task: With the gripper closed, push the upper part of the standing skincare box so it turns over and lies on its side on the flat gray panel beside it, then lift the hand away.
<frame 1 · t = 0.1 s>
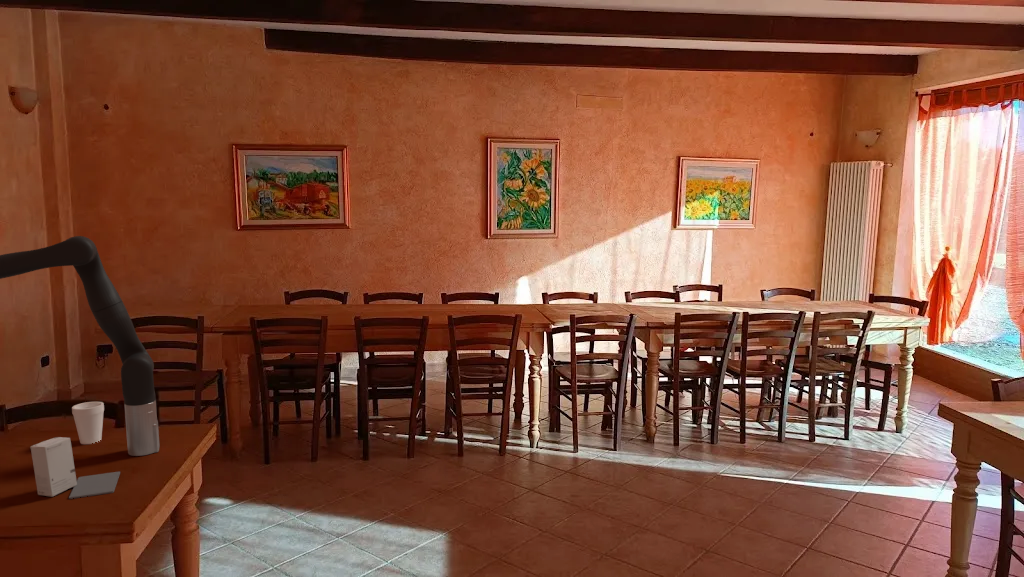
skincare box: (58, 490, 199), on the table, touching flat gray panel
flat gray panel: (95, 485, 202), on the table
foam cup: (90, 441, 240), on the table
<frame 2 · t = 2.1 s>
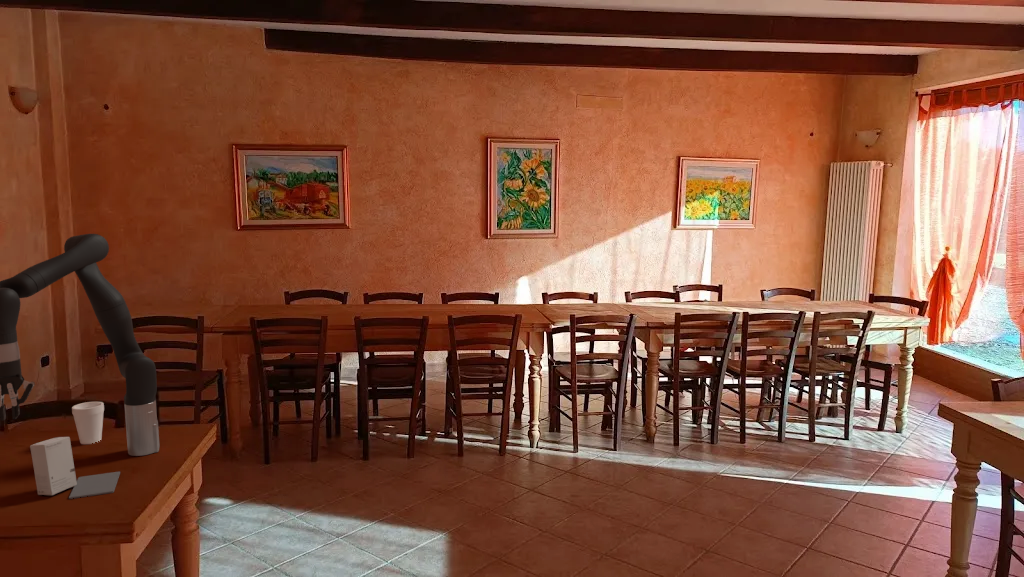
hand: (9, 418, 192), 23 cm above the table, tool pointing down, fingers closed
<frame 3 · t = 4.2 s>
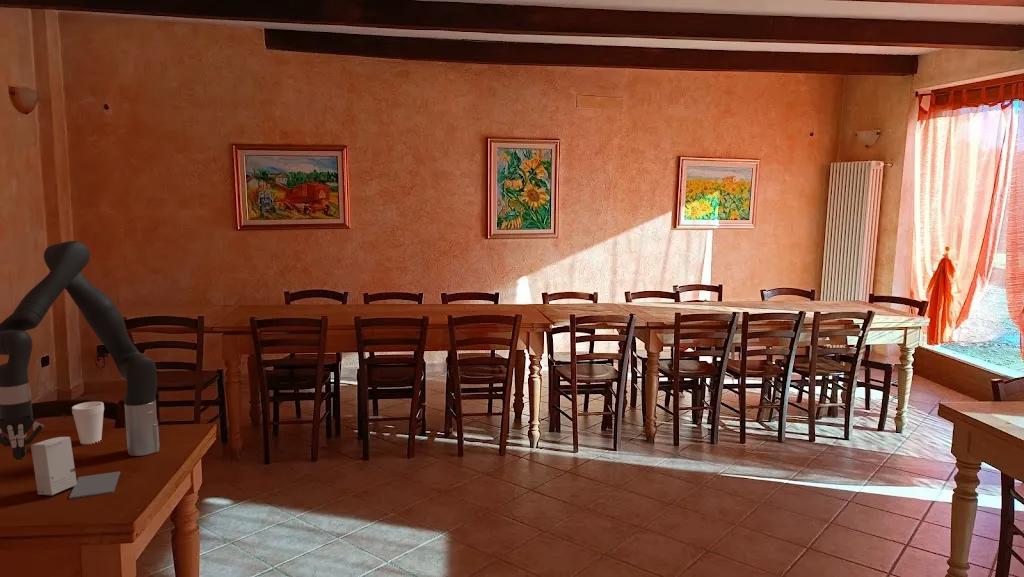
hand: (20, 458, 194), 11 cm above the table, tool pointing down, fingers closed
skincare box: (58, 490, 199), on the table, touching flat gray panel, gripper
everything else where it was.
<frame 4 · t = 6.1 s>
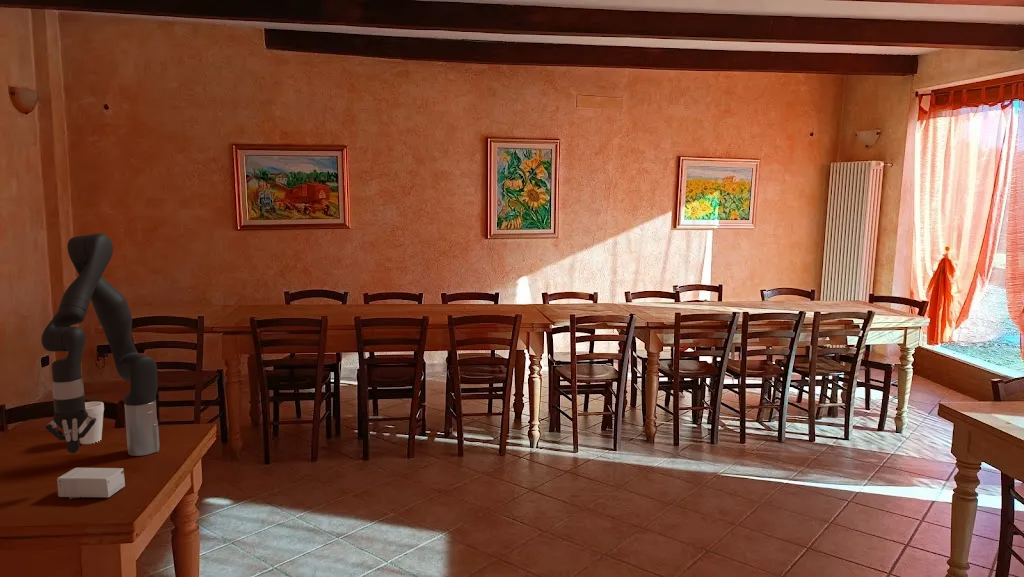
hand: (73, 452, 199), 11 cm above the table, tool pointing down, fingers closed
skincare box: (66, 481, 197), point 3 cm above the table, touching flat gray panel
everything else where it was.
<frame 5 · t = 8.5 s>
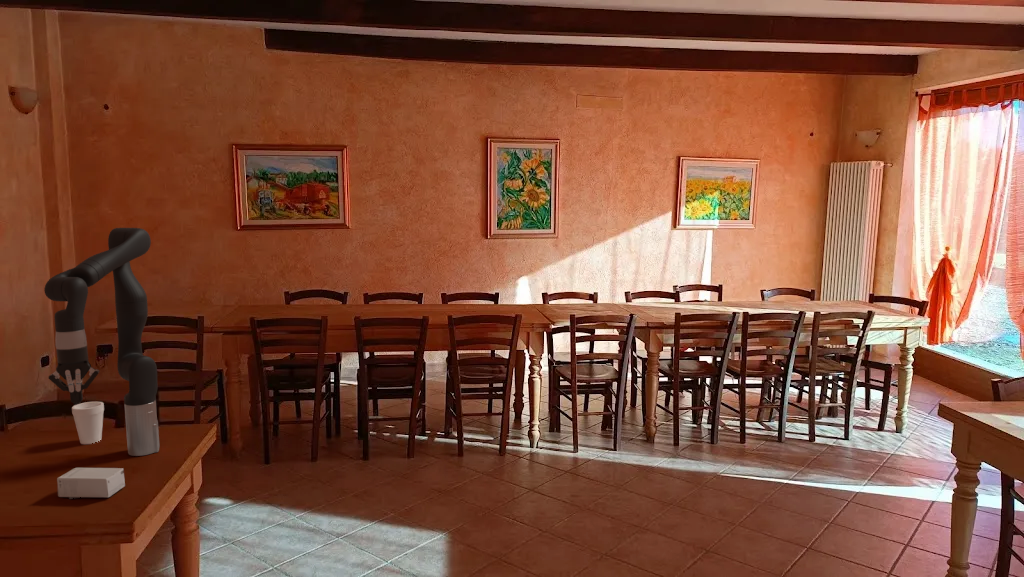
hand: (77, 403, 199), 25 cm above the table, tool pointing down, fingers closed
nothing on the table moved.
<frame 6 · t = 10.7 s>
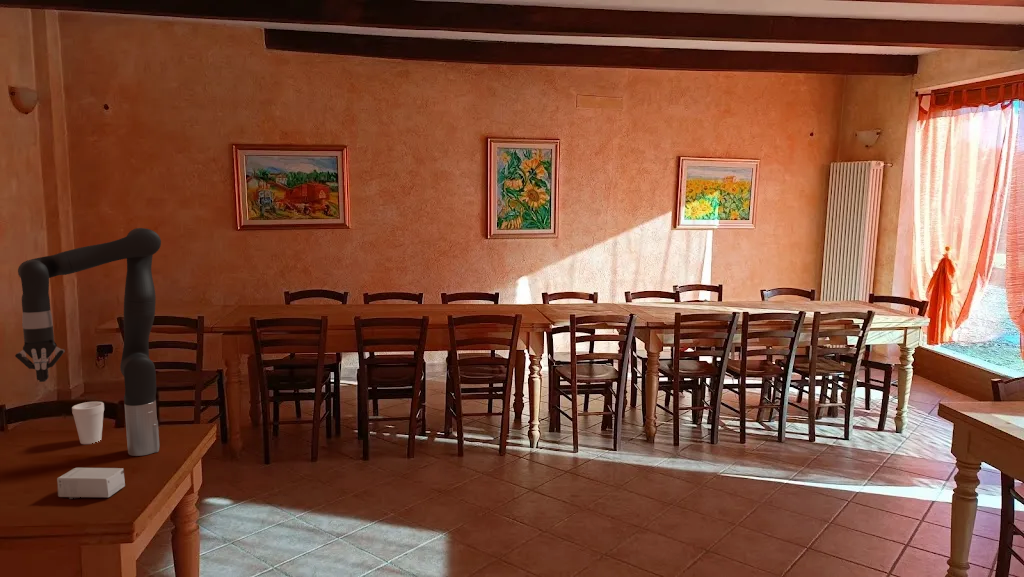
hand: (42, 381, 209), 29 cm above the table, tool pointing down, fingers closed
nothing on the table moved.
at the end: skincare box tilted 91°; skincare box touching flat gray panel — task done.
